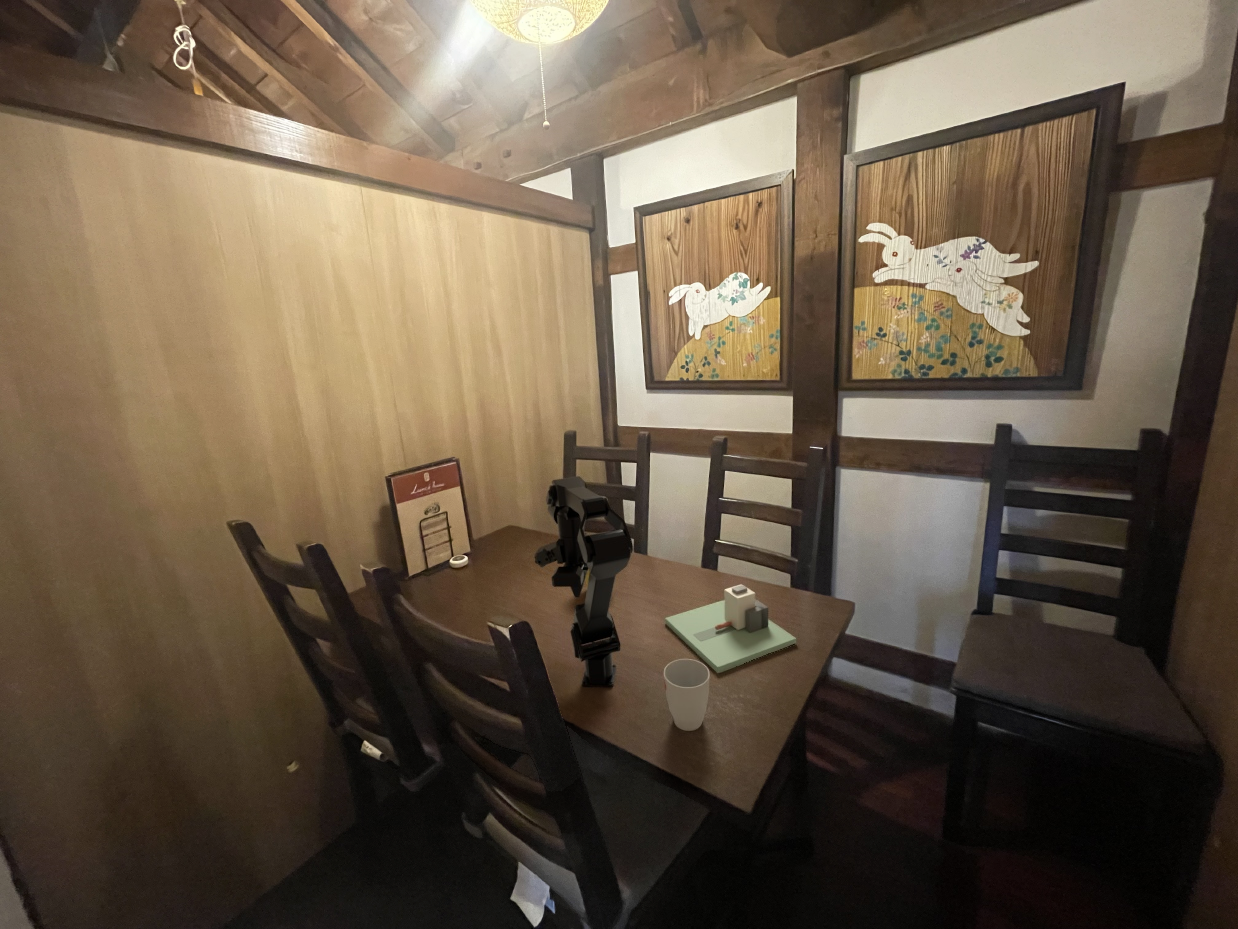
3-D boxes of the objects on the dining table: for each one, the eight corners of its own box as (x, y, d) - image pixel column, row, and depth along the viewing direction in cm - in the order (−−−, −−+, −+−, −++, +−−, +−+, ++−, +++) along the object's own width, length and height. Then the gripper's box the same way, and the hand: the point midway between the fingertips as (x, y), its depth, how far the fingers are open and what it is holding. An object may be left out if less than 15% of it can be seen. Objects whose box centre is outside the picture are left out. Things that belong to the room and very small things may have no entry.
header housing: (749, 633, 114) (749, 613, 113) (726, 615, 122) (726, 597, 121) (768, 626, 116) (768, 607, 115) (744, 610, 124) (744, 591, 123)
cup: (681, 699, 96) (679, 653, 94) (718, 716, 91) (717, 668, 89) (657, 724, 90) (654, 676, 88) (696, 744, 85) (694, 694, 83)
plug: (721, 635, 113) (721, 600, 111) (709, 625, 118) (708, 591, 116) (755, 624, 117) (755, 589, 115) (741, 614, 121) (741, 581, 119)
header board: (717, 673, 103) (717, 663, 103) (665, 623, 123) (665, 615, 122) (796, 644, 111) (796, 635, 111) (735, 601, 131) (735, 593, 130)
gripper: (546, 519, 120) (552, 578, 124) (524, 550, 102) (532, 618, 106) (592, 518, 119) (596, 578, 123) (577, 549, 101) (583, 618, 105)
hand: (577, 596), depth 114 cm, fingers closed
